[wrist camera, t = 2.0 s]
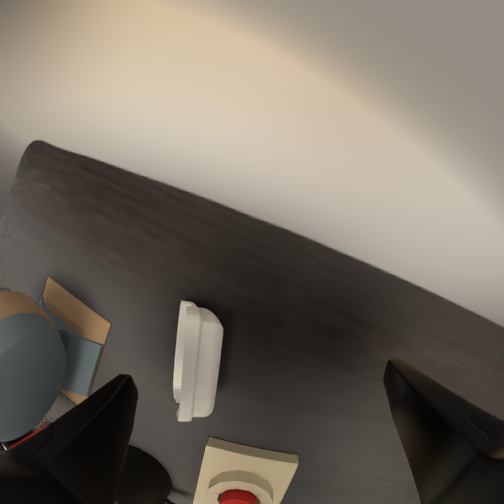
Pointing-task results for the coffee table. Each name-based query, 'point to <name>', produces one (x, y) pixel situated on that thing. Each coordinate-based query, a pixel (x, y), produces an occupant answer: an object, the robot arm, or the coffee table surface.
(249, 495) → the button
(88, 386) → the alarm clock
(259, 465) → the button block
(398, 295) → the coffee table surface
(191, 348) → the soap
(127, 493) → the mug
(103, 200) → the coffee table surface
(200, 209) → the coffee table surface
